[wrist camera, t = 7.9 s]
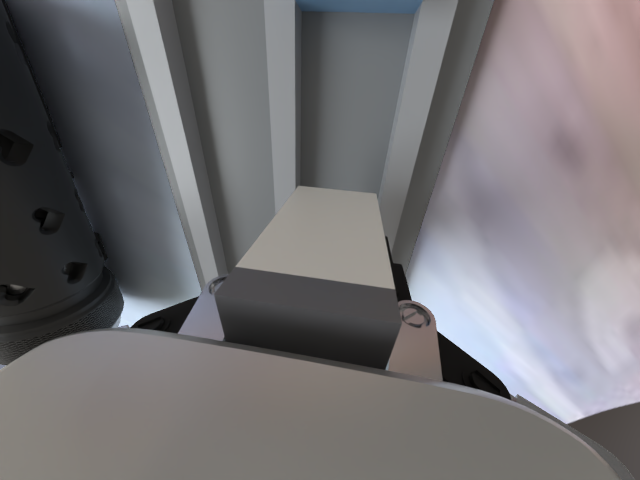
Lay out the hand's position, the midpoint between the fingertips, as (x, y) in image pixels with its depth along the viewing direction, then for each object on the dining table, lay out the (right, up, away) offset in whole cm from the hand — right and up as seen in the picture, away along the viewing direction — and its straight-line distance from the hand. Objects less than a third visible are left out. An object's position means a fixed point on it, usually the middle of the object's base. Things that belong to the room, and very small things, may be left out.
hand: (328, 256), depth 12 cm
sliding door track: (-3, +4, +7) cm, 8 cm away
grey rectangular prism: (0, +1, +2) cm, 2 cm away
